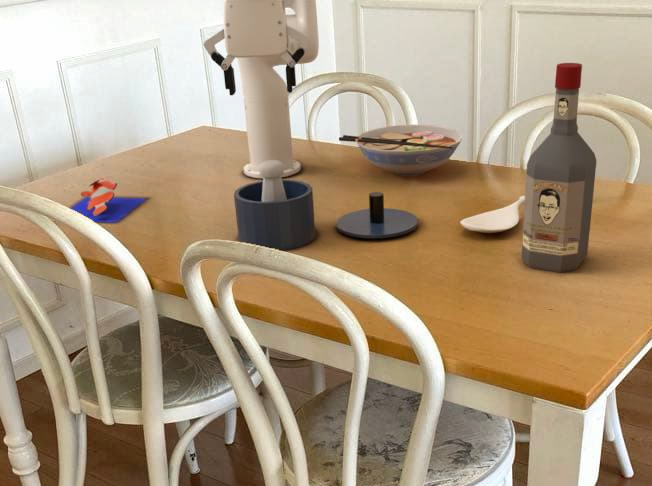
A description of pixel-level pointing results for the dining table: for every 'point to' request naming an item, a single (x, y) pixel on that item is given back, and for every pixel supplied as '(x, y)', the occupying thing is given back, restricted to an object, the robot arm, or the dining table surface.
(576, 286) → the dining table surface
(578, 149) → the liquor
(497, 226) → the spoon
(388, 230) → the lid
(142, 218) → the dining table surface
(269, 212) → the pot
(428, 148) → the ramen bowl
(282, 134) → the robot arm
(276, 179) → the salt shaker
